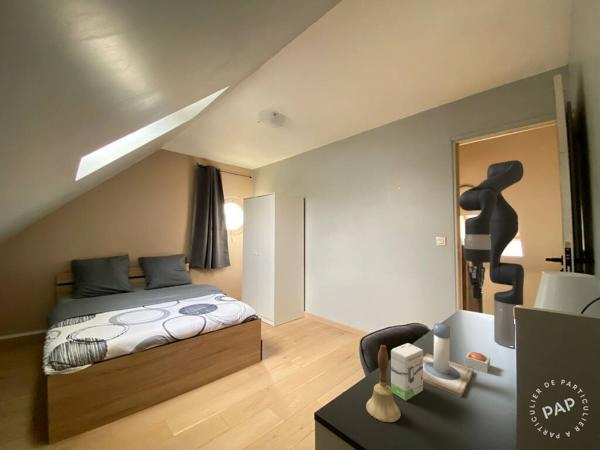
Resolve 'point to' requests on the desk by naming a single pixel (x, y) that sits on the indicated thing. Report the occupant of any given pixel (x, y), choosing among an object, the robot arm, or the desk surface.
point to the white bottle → (441, 348)
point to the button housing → (477, 363)
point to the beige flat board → (447, 376)
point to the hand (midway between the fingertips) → (477, 298)
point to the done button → (477, 356)
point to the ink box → (406, 371)
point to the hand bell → (383, 394)
